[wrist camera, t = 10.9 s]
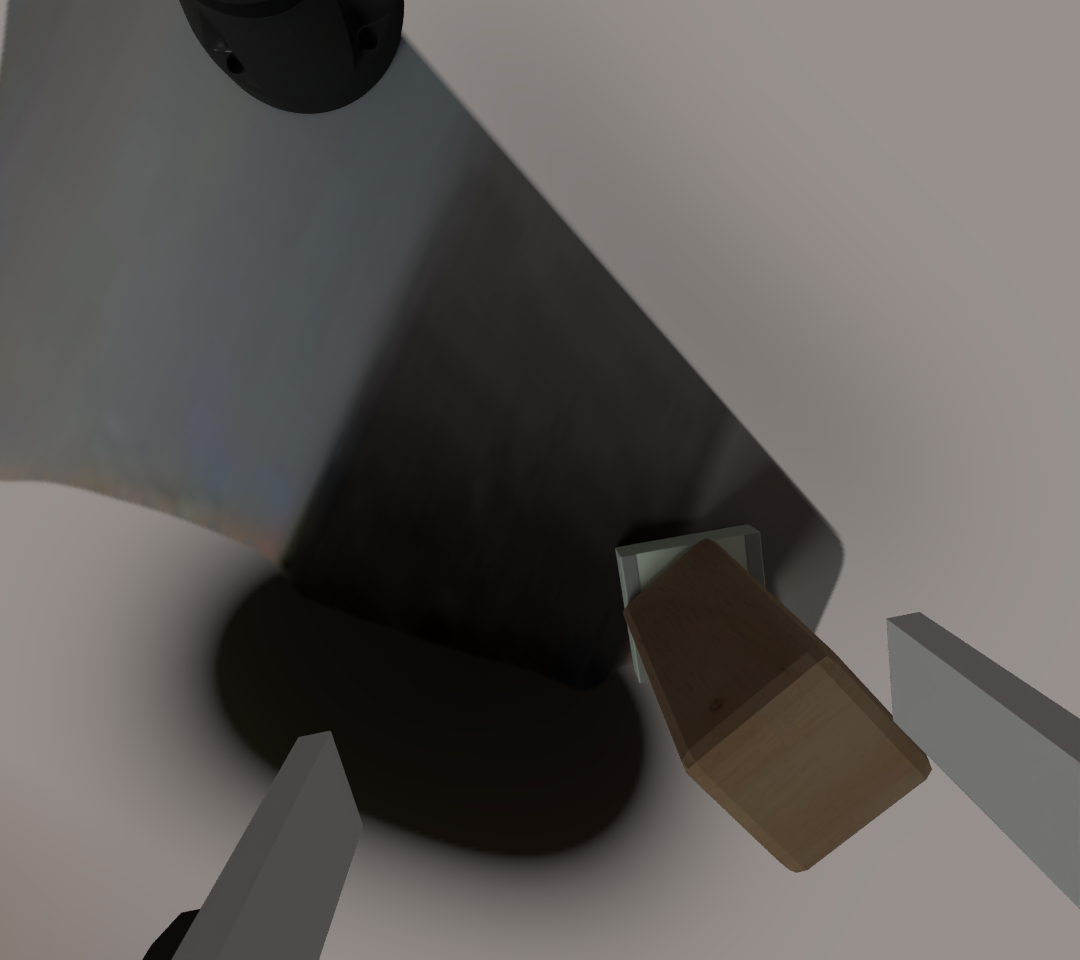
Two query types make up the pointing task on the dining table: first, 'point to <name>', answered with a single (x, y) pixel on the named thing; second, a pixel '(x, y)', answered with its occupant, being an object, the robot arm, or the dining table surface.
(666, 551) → the dock
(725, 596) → the wooden block
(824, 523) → the dining table surface
